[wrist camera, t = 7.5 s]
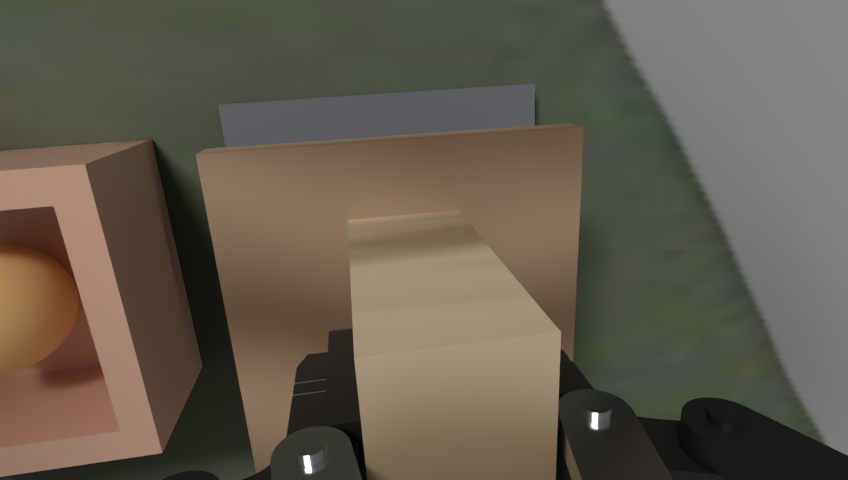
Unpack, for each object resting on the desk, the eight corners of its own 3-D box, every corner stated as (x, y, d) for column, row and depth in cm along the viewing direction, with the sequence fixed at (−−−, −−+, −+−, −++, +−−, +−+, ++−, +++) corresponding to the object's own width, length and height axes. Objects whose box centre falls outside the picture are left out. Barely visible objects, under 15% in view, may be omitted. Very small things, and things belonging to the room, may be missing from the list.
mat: (221, 104, 18) (218, 105, 17) (529, 83, 19) (535, 84, 19) (270, 379, 21) (268, 387, 21) (527, 345, 23) (532, 352, 22)
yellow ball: (-48, 234, 17) (-157, 280, 13) (82, 222, 18) (13, 263, 14) (-8, 341, 18) (-98, 411, 15) (112, 327, 19) (56, 391, 15)
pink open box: (-143, 160, 17) (-331, 196, 12) (151, 139, 18) (84, 164, 13) (-46, 397, 20) (-167, 501, 15) (202, 366, 21) (162, 453, 16)
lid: (205, 148, 14) (39, 245, 6) (568, 123, 15) (800, 177, 7) (262, 458, 17) (199, 774, 9) (557, 415, 18) (712, 662, 11)
